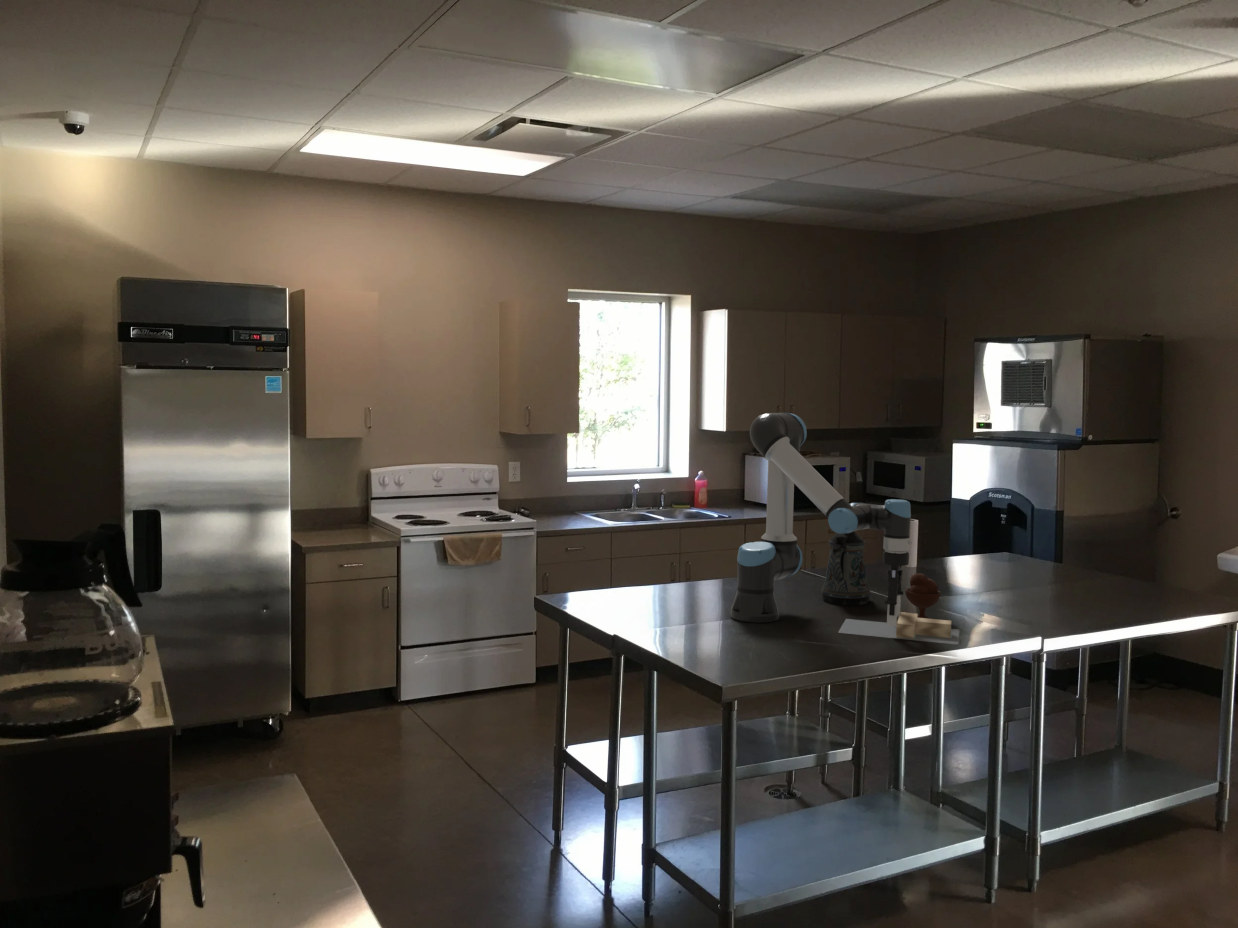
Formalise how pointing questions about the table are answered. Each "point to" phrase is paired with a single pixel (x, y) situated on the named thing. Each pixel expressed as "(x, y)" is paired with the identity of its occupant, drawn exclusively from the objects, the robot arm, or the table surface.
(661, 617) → the table surface
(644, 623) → the table surface
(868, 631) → the push board
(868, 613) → the table surface
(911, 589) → the ice cream bowl
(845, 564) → the beer stein
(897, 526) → the robot arm
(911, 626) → the t block
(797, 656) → the table surface
